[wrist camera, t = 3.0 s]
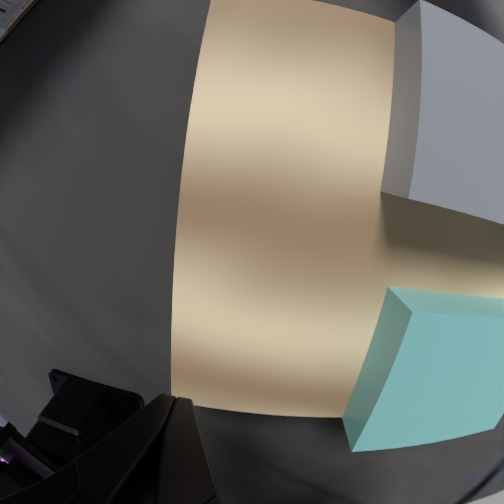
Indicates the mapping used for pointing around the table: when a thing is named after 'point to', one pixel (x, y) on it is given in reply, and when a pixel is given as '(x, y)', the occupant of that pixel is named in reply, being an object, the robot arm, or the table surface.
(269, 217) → the wooden block
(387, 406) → the teal block
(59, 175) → the table surface
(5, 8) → the tin
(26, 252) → the table surface
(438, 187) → the gray rectangular block
